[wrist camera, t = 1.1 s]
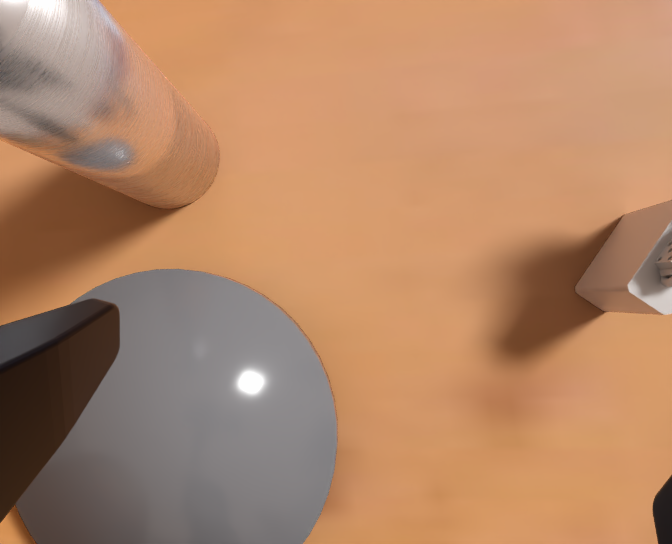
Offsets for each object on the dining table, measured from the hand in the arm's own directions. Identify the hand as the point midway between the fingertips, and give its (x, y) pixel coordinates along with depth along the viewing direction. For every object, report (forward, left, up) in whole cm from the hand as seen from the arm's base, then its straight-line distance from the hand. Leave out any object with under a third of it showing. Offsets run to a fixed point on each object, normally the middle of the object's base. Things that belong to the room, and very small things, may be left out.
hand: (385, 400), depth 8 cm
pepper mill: (-4, +11, -14) cm, 18 cm away
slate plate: (-9, 0, -14) cm, 17 cm away
